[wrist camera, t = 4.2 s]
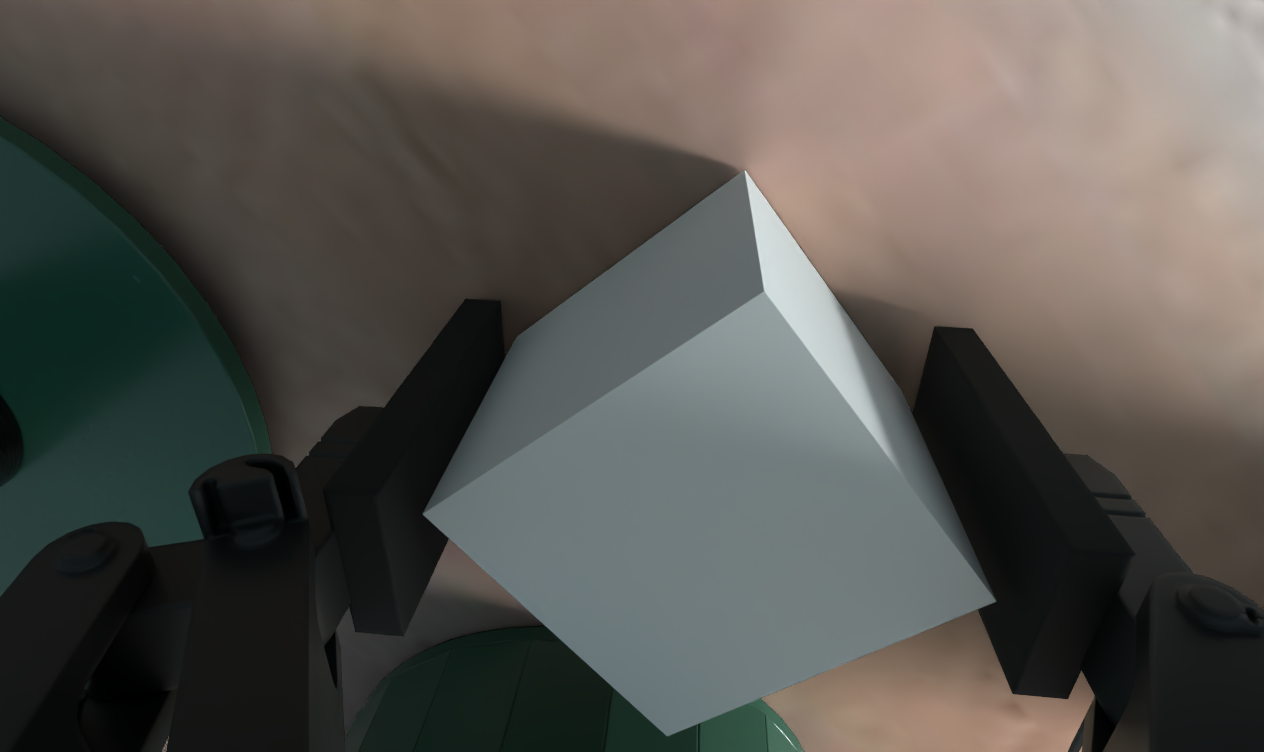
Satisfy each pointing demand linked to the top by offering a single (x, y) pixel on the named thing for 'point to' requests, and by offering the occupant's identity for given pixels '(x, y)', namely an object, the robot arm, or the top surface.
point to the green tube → (533, 706)
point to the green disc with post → (102, 367)
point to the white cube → (708, 475)
